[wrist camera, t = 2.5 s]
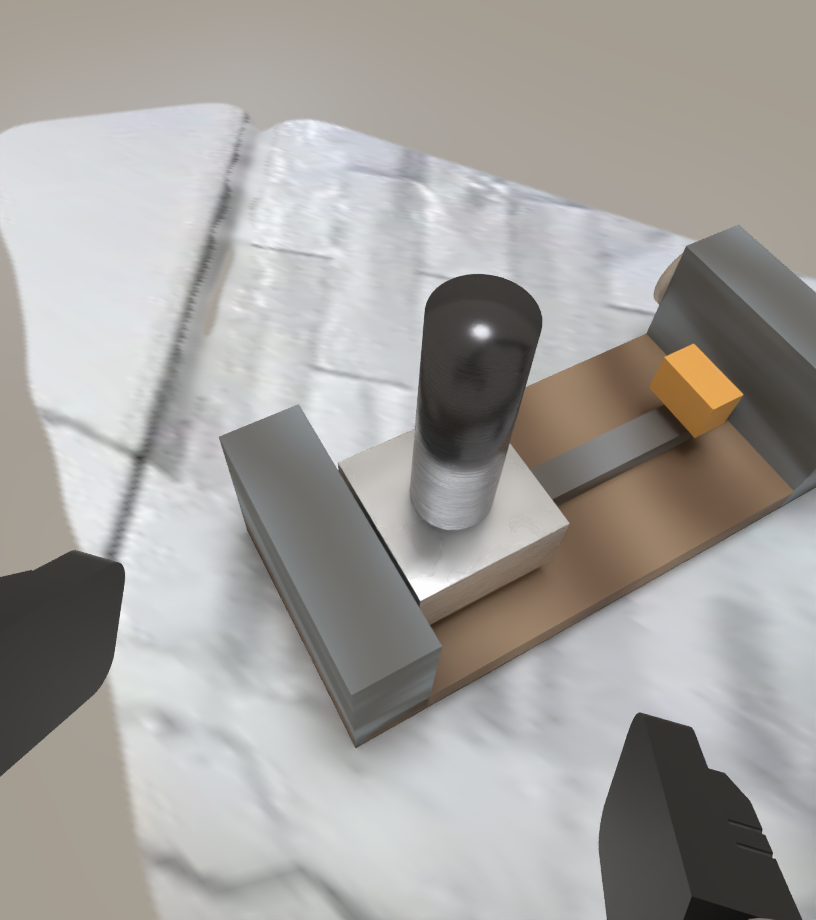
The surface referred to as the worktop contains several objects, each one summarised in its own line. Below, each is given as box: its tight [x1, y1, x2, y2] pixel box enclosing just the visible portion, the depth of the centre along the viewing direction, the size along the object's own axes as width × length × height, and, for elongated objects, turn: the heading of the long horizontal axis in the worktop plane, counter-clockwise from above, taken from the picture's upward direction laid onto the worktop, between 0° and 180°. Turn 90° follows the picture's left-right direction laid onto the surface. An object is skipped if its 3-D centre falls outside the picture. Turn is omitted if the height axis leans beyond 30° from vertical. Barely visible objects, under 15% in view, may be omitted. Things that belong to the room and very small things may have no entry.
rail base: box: [219, 225, 816, 748], centre depth 30 cm, size 24×10×7 cm, turn 119°
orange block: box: [649, 344, 744, 438], centre depth 31 cm, size 2×3×2 cm, turn 29°
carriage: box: [338, 274, 570, 625], centre depth 24 cm, size 6×6×12 cm
